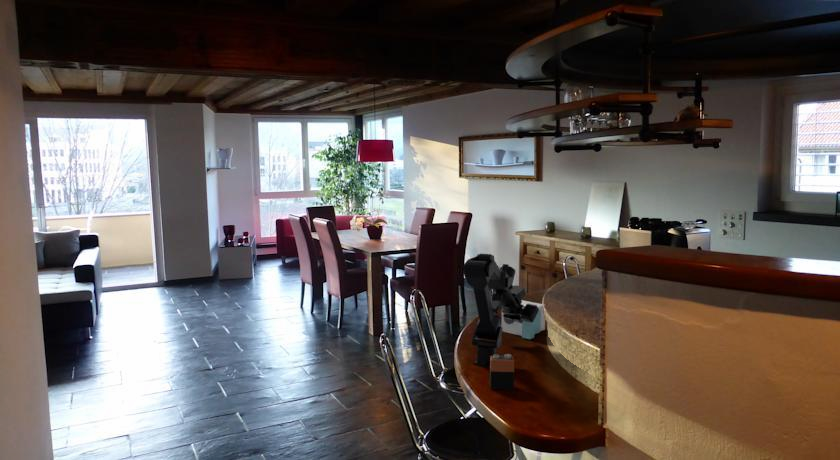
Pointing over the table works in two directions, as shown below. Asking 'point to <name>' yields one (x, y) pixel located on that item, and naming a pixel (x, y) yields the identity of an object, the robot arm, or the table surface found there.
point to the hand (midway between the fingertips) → (521, 322)
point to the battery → (502, 372)
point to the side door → (531, 327)
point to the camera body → (516, 327)
